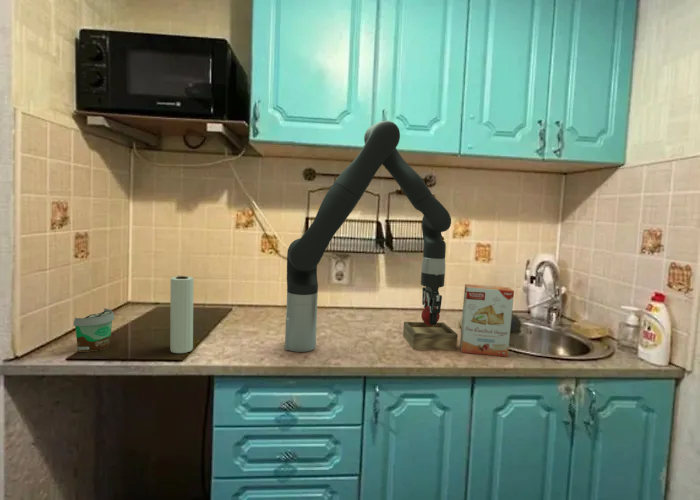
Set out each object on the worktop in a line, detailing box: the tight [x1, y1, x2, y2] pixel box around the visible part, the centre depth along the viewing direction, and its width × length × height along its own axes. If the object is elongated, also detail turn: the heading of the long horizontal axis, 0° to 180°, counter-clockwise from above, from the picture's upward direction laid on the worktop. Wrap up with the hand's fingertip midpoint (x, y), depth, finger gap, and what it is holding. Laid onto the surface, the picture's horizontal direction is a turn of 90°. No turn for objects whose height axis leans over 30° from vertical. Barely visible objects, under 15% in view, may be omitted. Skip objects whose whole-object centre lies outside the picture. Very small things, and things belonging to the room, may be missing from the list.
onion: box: [421, 306, 441, 327], centre depth 141 cm, size 6×6×8 cm
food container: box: [72, 308, 116, 351], centre depth 123 cm, size 12×6×10 cm, turn 171°
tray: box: [402, 321, 458, 351], centre depth 142 cm, size 14×14×5 cm
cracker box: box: [459, 283, 515, 357], centre depth 134 cm, size 14×6×21 cm, turn 82°
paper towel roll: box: [169, 275, 194, 354], centre depth 124 cm, size 7×6×21 cm
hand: (429, 321), depth 142 cm, fingers closed on onion, 5 cm apart
